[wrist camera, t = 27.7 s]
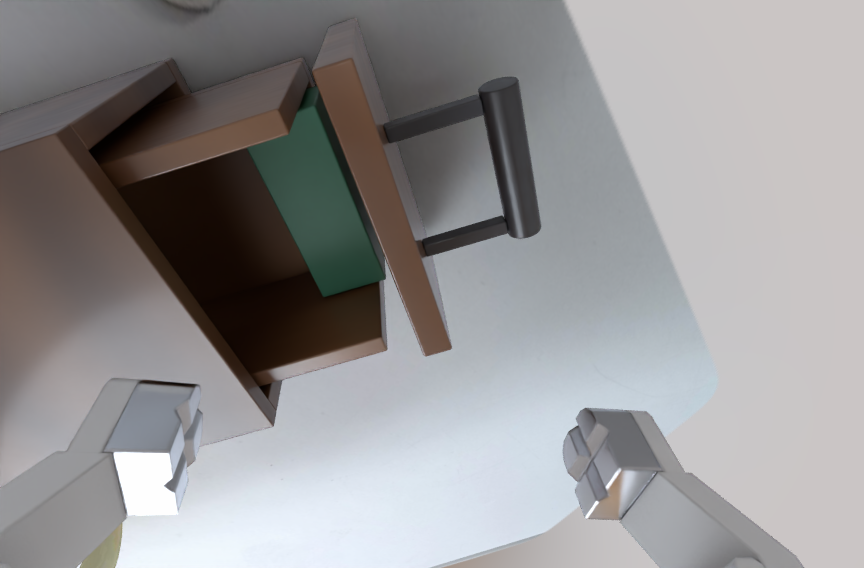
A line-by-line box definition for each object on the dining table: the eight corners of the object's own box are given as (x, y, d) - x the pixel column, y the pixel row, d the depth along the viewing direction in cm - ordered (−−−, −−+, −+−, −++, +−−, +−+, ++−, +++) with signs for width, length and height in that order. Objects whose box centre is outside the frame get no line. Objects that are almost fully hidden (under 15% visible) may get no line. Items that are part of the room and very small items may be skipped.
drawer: (475, -22, 19) (529, 0, 13) (520, 223, 26) (571, 316, 20) (47, 118, 20) (-95, 201, 14) (196, 318, 27) (144, 435, 21)
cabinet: (172, 57, 20) (54, 133, 13) (299, 288, 28) (274, 426, 20) (-139, 160, 21) (-427, 289, 14) (63, 357, 29) (-48, 515, 21)
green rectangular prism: (251, 105, 20) (235, 129, 18) (321, 83, 20) (315, 104, 17) (327, 262, 25) (322, 298, 22) (384, 245, 24) (386, 279, 22)
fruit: (119, 536, 38) (144, 526, 38) (51, 653, 29) (83, 640, 29) (89, 495, 36) (114, 485, 36) (8, 605, 28) (41, 592, 28)
